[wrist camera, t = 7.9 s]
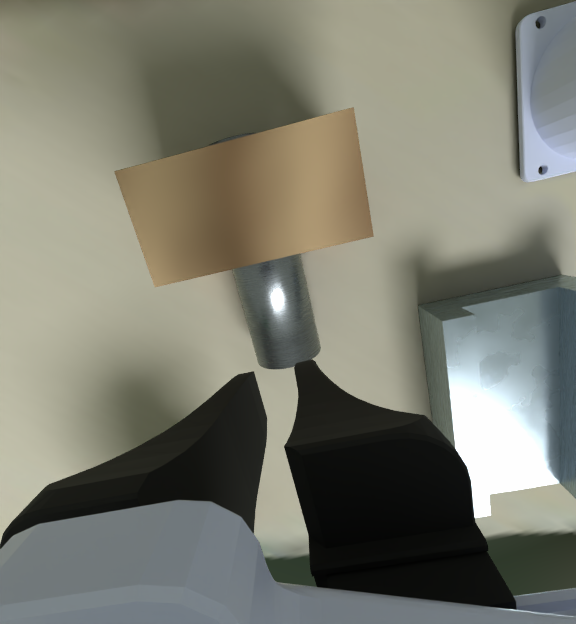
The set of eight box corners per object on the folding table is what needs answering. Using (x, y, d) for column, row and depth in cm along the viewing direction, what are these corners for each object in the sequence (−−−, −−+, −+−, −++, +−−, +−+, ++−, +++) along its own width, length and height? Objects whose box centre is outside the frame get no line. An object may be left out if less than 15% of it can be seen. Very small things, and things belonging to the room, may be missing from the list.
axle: (280, 145, 18) (266, 125, 14) (321, 336, 21) (319, 363, 17) (216, 163, 19) (186, 150, 15) (265, 346, 22) (251, 373, 18)
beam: (334, 145, 18) (353, 107, 12) (349, 233, 19) (373, 236, 13) (170, 188, 19) (114, 171, 13) (195, 269, 20) (154, 287, 14)
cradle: (562, 274, 20) (618, 285, 16) (562, 457, 23) (608, 497, 20) (417, 305, 20) (442, 321, 17) (439, 478, 24) (463, 519, 20)
